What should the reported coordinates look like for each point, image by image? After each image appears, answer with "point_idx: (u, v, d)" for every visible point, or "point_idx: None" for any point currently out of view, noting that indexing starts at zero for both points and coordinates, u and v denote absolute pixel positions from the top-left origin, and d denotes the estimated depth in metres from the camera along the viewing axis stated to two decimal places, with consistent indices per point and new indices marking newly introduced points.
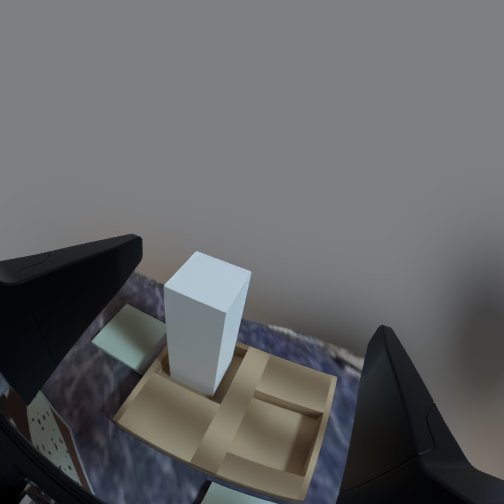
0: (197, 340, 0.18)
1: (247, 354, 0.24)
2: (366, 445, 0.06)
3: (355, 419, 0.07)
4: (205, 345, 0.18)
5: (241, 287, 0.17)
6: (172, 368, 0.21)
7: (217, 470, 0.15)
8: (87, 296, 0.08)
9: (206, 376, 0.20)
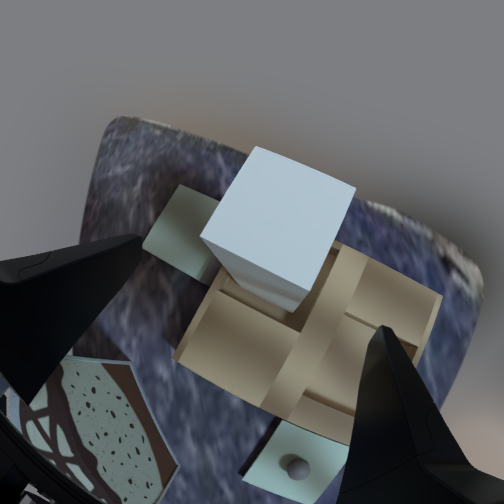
0: (267, 286, 0.13)
1: (339, 257, 0.19)
2: (366, 445, 0.06)
3: (355, 419, 0.07)
4: (279, 293, 0.13)
5: (338, 227, 0.09)
6: (240, 284, 0.18)
7: (288, 416, 0.16)
8: (87, 296, 0.08)
9: (284, 304, 0.16)
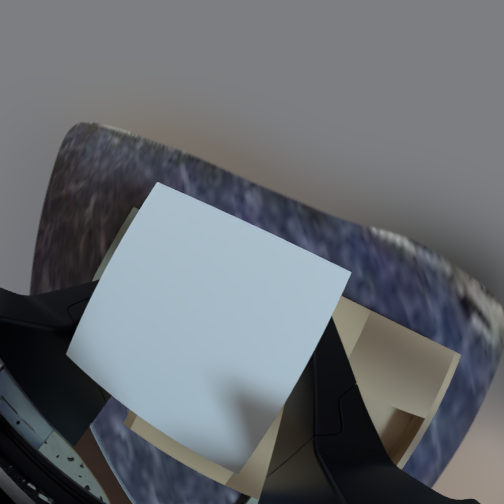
0: None
1: None
2: (287, 425, 0.06)
3: None
4: None
5: (304, 362, 0.04)
6: None
7: (259, 495, 0.11)
8: None
9: None
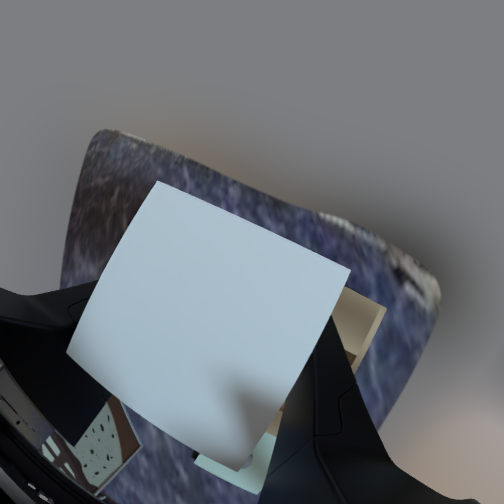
0: None
1: None
2: (287, 425, 0.06)
3: (286, 399, 0.08)
4: None
5: (304, 359, 0.04)
6: None
7: None
8: None
9: None
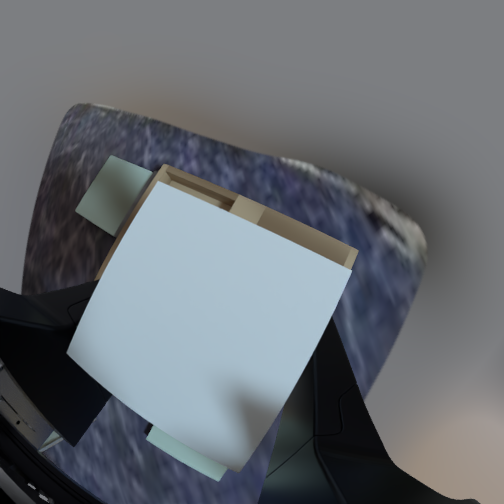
0: None
1: (234, 207, 0.19)
2: (287, 425, 0.06)
3: None
4: None
5: (305, 360, 0.04)
6: None
7: None
8: None
9: None
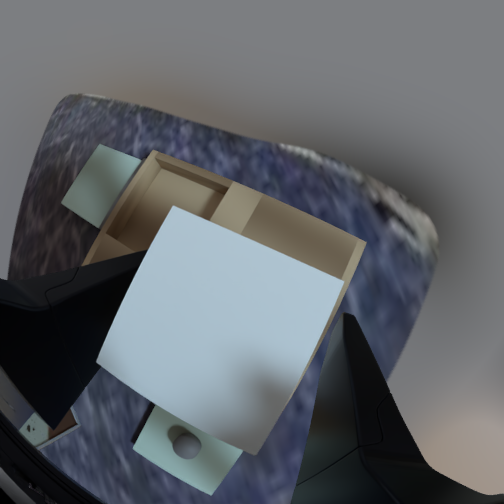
0: None
1: (228, 194, 0.17)
2: (320, 434, 0.06)
3: (314, 408, 0.08)
4: None
5: (308, 357, 0.05)
6: None
7: None
8: None
9: None
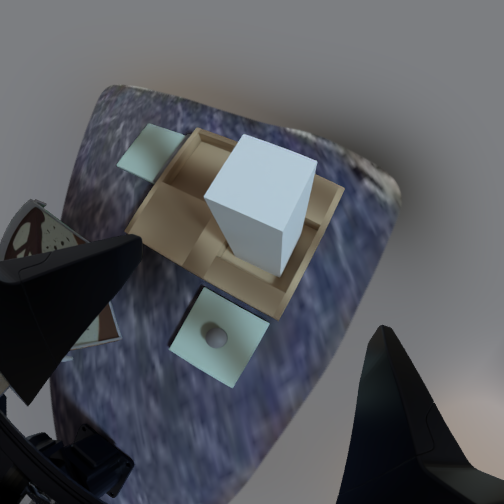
0: (255, 242, 0.16)
1: None
2: (366, 445, 0.06)
3: (355, 419, 0.07)
4: (265, 247, 0.16)
5: (303, 188, 0.13)
6: (234, 252, 0.22)
7: (204, 274, 0.22)
8: (87, 296, 0.08)
9: (271, 265, 0.20)
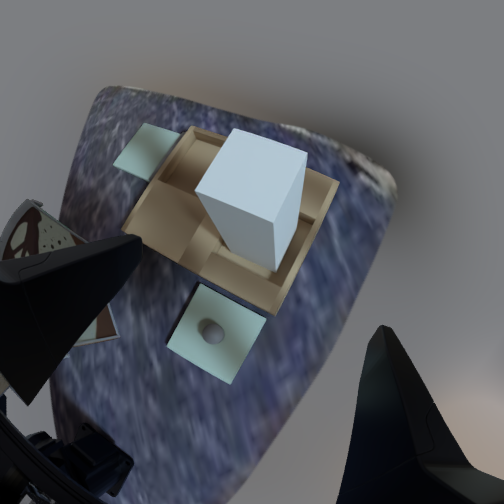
0: (248, 235, 0.16)
1: None
2: (366, 445, 0.06)
3: (355, 419, 0.07)
4: (258, 240, 0.16)
5: (293, 179, 0.13)
6: (230, 247, 0.22)
7: (200, 271, 0.22)
8: (87, 296, 0.08)
9: (266, 259, 0.20)
